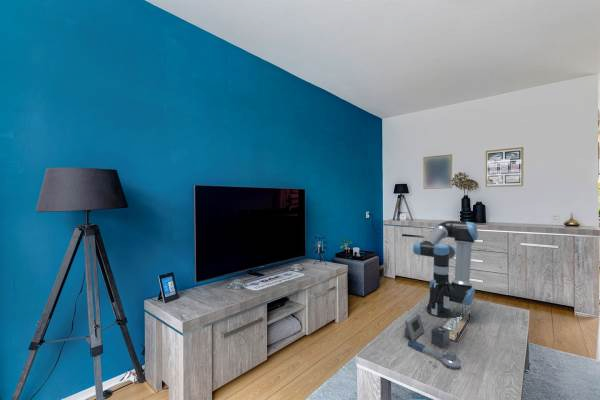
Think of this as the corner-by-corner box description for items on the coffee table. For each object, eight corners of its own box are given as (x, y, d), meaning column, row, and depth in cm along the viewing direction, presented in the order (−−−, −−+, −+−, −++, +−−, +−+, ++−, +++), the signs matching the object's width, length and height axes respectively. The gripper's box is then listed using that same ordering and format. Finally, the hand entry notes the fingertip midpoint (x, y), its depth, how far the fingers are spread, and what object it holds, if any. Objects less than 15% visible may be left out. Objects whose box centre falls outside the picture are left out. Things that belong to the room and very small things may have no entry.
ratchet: (413, 342, 156) (413, 332, 156) (463, 365, 135) (463, 354, 135) (405, 347, 151) (405, 337, 151) (455, 371, 130) (456, 360, 130)
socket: (437, 339, 159) (437, 324, 158) (449, 344, 153) (449, 328, 153) (431, 343, 155) (431, 327, 154) (443, 348, 150) (443, 332, 149)
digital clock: (412, 342, 156) (412, 323, 156) (398, 335, 164) (399, 317, 163) (429, 334, 165) (429, 316, 165) (415, 327, 172) (415, 311, 172)
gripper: (444, 267, 163) (444, 303, 164) (422, 275, 148) (421, 314, 149) (458, 270, 157) (457, 307, 158) (436, 279, 142) (435, 319, 143)
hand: (440, 311), depth 154 cm, fingers open, 13 cm apart
